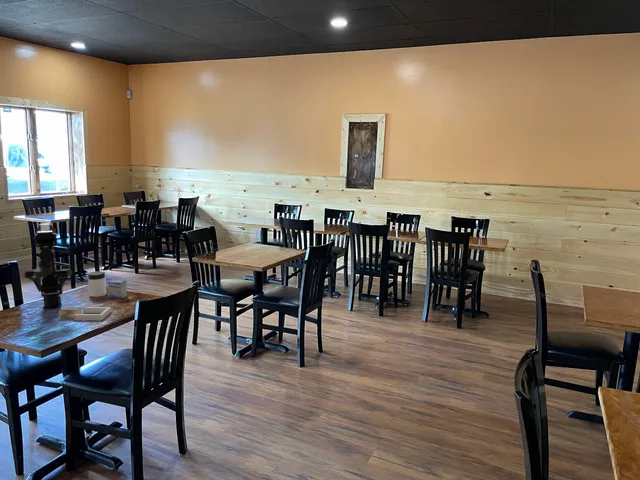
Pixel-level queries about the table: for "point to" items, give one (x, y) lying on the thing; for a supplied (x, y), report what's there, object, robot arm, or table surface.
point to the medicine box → (117, 289)
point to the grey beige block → (69, 312)
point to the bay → (102, 310)
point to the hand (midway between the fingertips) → (50, 291)
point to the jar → (97, 284)
